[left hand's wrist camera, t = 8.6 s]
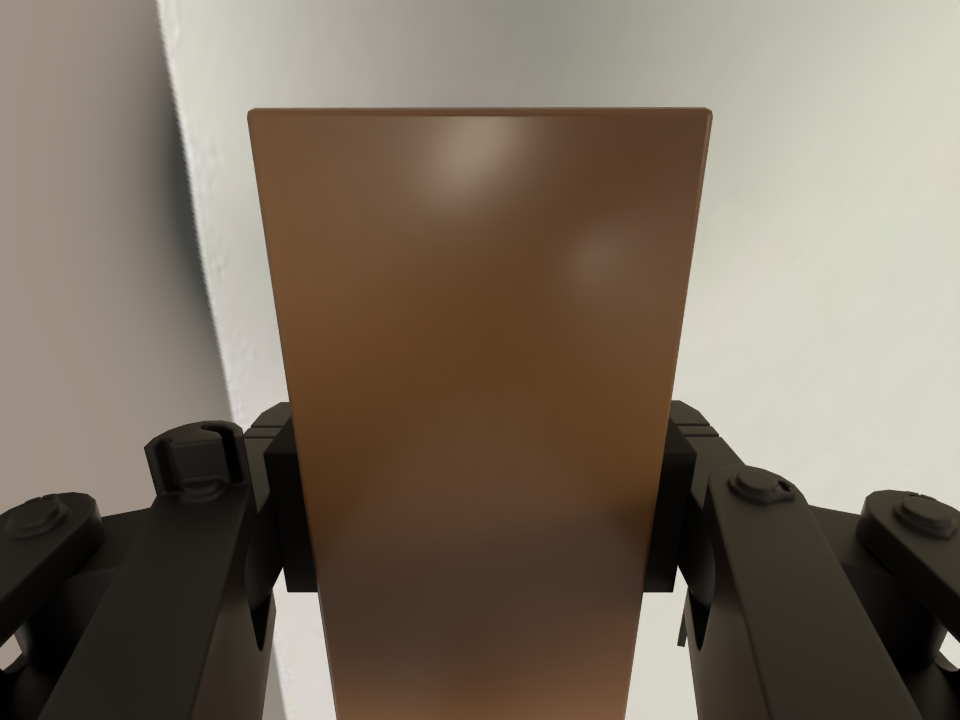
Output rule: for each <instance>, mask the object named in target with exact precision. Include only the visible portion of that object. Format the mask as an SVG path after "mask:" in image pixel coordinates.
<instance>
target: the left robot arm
mask: <svg viewBox="0 0 960 720" xmlns="http://www.w3.org/2000/svg"><path fill="white" fill-rule="evenodd" d="M144 450H145V454H146V457H147V461H148V465H149V468H150V472H151V476H152V479H153V483H154V487H155V490H156V494H157V496H156V498H155V500H154V502H153V504H152V506H151V507H150V508H146V509H142V510H137V511H131V512H126V513H121V514H116V515H110V516H105V517H101V516H100V513H99V510H98V507H97V504H96V501H95V499H93V498H92V497H91V496H89V495H88V494H83V493H75V492H70V493H61V494H50V495H45V496H43V497H42V498H41V497H37V498H34V499H31V500H28V501H26V502H25V503H24V504H21V505H19V506H17V507H14V508H12V509H10V510H8V511H6V512H5V513H3V514H1V515H0V647H1V646H2V645H3V644H4V643H5V642H6V641H7V640H8V639H9V638H10V637H11V636H12V635H13V634H14V635H15V637H16V639H17V642H18V644H19V646H20V648H21V651H22V654H21V655H20V656H19V657H18V658H17V659H16V660H15V661H14V662H13V663H12V664H11V665H10V666H8V667H7V668H6V669H5V670H3V671H2V670H1V669H0V720H262V715H263V707H264V700H265V692H266V685H267V677H268V669H269V662H270V654H271V647H272V639H273V632H274V624H275V617H276V606H275V600H274V594H273V589H272V588H273V586H274V584H275V582H276V580H277V578H278V576H279V574H280V572H281V570H282V568H283V570H284V575H285V581H286V587H287V592H318V590H317V584H316V577H315V570H314V563H313V557H312V550H311V543H310V537H309V530H308V523H307V516H306V510H305V503H304V496H303V490H302V483H301V476H300V469H299V463H298V456H297V449H296V443H295V436H294V429H293V422H292V416H291V409H290V402H280V403H278V404H277V405H275V406H273V407H271V408H270V409H268V410H266V411H265V412H263V413H261V415H260V416H259V417H258V418H257V419H256V420H255V422H254V423H253V424H252V425H251V428H249V429H248V430H247V431H246V432H245V433H244V434H243V430H242V428H241V427H240V426H238V425H237V424H235V423H232V422H227V421H221V420H220V421H202V422H197V423H191V424H186V425H183V426H180V427H177V428H174V429H171V430H168V431H166V432H164V433H163V434H161V435H159V436H157V437H155V438H153V439H152V440H151V441H150V442H149V443H148V444H147V445H146V446H145V447H144ZM677 566H679V569H680V571H681V573H682V575H683V577H684V579H685V581H686V583H687V585H688V589H687V594H686V600H685V605H684V610H683V615H682V621H681V626H680V631H679V637H678V644H677V646H682V647H685V642H686V637H687V638H688V646H689V653H690V661H691V668H692V676H693V683H694V691H695V698H696V706H697V713H698V720H960V669H958V668H956V667H955V666H954V665H953V664H952V663H950V662H949V661H948V660H947V659H946V658H945V656H944V655H943V654H942V653H941V652H940V651H939V650H940V647H941V645H942V643H943V641H944V638H945V636H946V634H947V632H948V631H949V632H950V633H951V634H952V635H953V637H954V638H955V639H956V640H957V641H958V642H959V643H960V512H959V511H958V510H956V509H955V508H953V507H951V506H948V505H946V504H944V503H941V502H939V501H937V500H936V499H934V498H932V497H929V496H926V495H922V494H921V495H919V494H918V493H914V492H909V491H905V492H904V491H895V490H883V491H875V492H873V493H871V494H870V495H869V496H867V497H866V499H865V502H864V505H863V508H862V511H861V514H860V515H858V514H852V513H847V512H842V511H836V510H831V509H826V508H820V507H816V506H812V505H808V503H807V501H806V499H805V497H804V495H803V494H802V493H801V492H800V491H799V490H798V488H797V487H796V486H795V485H794V484H792V483H791V482H789V481H788V480H786V479H784V478H783V477H781V476H779V475H777V474H774V473H772V472H769V471H767V470H764V469H761V468H756V467H752V466H747V465H745V464H744V463H743V462H742V460H741V459H740V458H739V457H738V456H737V455H736V453H735V452H734V451H733V450H732V449H731V448H730V447H729V445H728V444H727V443H726V442H725V441H724V440H723V439H722V437H719V434H718V433H717V432H716V431H715V429H714V428H713V427H712V426H710V424H709V422H708V421H707V420H706V419H705V418H704V417H703V416H702V414H701V413H700V412H699V411H697V410H696V409H694V408H692V407H690V406H689V405H687V404H685V403H683V402H682V401H680V400H671V405H670V412H669V419H668V426H667V433H666V439H665V446H664V453H663V460H662V467H661V474H660V480H659V487H658V494H657V501H656V508H655V515H654V521H653V528H652V535H651V542H650V549H649V556H648V562H647V569H646V576H645V583H644V590H643V592H673V589H674V583H675V577H676V572H677Z"/></svg>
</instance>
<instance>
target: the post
mask: <svg viewBox="0 0 960 720" xmlns="http://www.w3.org/2000/svg"><path fill="white" fill-rule="evenodd" d="M712 118H713V116H712V111H711V110H709V109H707V108H705V107H591V108H254V109H252V110H250V111H248V115H247V120H248V127H249V134H250V140H251V147H252V154H253V161H254V167H255V174H256V181H257V187H258V194H259V201H260V208H261V214H262V221H263V228H264V234H265V241H266V248H267V255H268V261H269V268H270V275H271V281H272V288H273V295H274V302H275V308H276V315H277V322H278V328H279V335H280V342H281V349H282V355H283V362H284V369H285V375H286V382H287V389H288V396H289V402H290V409H291V416H292V422H293V429H294V436H295V443H296V449H297V456H298V463H299V469H300V476H301V483H302V490H303V496H304V503H305V510H306V516H307V523H308V530H309V537H310V543H311V550H312V557H313V563H314V570H315V577H316V584H317V590H318V597H319V604H320V610H321V617H322V624H323V631H324V637H325V644H326V651H327V658H328V664H329V671H330V678H331V684H332V691H333V698H334V705H335V711H336V718H337V720H625V713H626V706H627V699H628V692H629V685H630V679H631V672H632V665H633V658H634V651H635V644H636V638H637V631H638V624H639V617H640V610H641V603H642V597H643V590H644V583H645V576H646V569H647V562H648V556H649V549H650V542H651V535H652V528H653V521H654V515H655V508H656V501H657V494H658V487H659V480H660V474H661V467H662V460H663V453H664V446H665V439H666V433H667V426H668V419H669V412H670V405H671V398H672V392H673V385H674V378H675V371H676V364H677V357H678V351H679V344H680V337H681V330H682V323H683V316H684V310H685V303H686V296H687V289H688V282H689V275H690V269H691V262H692V255H693V248H694V241H695V234H696V228H697V221H698V214H699V207H700V200H701V193H702V187H703V180H704V173H705V166H706V159H707V152H708V146H709V139H710V132H711V125H712Z"/></svg>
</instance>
